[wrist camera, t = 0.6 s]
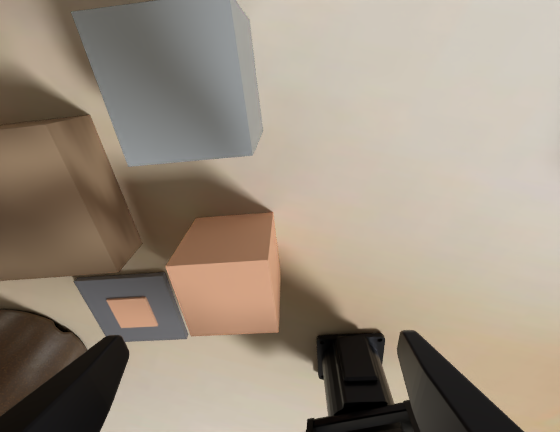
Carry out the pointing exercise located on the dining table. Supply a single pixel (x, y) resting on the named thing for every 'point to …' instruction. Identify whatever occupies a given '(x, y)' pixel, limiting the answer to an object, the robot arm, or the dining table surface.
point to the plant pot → (31, 354)
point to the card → (134, 306)
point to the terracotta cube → (228, 275)
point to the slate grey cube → (175, 78)
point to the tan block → (60, 202)
